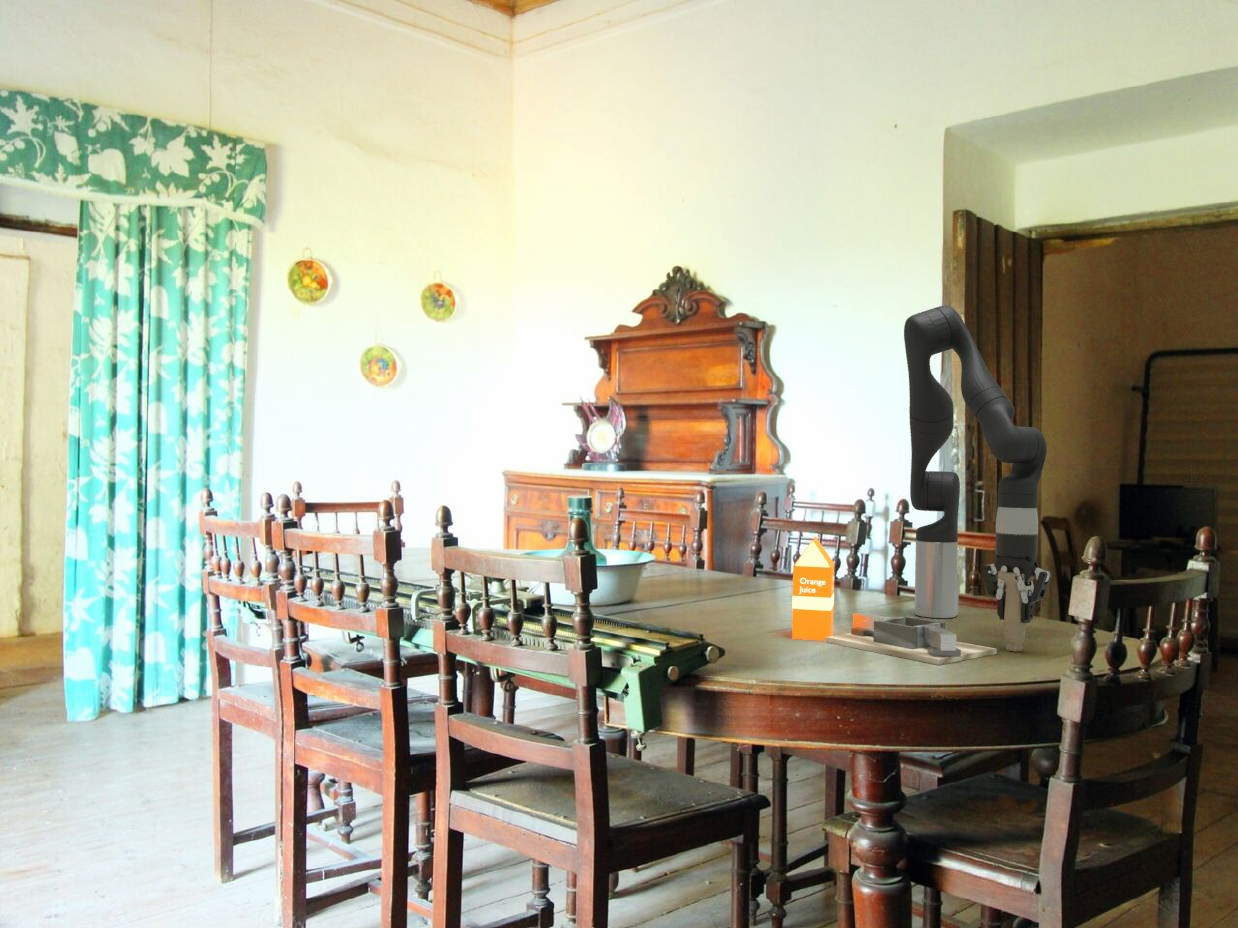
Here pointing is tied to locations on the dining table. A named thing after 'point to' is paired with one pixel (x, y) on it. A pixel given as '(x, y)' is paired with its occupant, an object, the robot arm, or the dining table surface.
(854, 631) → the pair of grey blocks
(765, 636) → the dining table surface
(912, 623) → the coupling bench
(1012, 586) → the handle
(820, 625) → the orange juice
